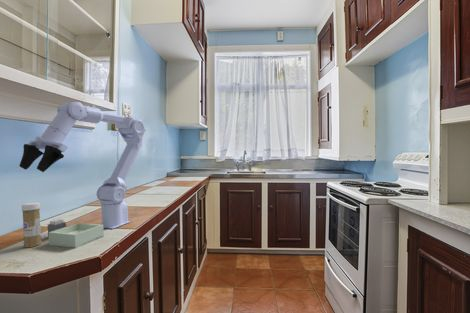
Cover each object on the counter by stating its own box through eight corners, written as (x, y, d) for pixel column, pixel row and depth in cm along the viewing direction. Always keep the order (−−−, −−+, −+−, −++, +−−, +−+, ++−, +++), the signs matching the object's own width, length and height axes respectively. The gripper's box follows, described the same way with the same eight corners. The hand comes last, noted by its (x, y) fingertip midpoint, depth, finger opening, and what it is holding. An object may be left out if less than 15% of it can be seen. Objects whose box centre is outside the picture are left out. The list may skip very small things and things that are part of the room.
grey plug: (59, 234, 96) (58, 218, 96) (66, 234, 95) (65, 219, 95) (48, 237, 92) (47, 221, 92) (55, 238, 91) (54, 222, 91)
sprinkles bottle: (19, 248, 83) (17, 204, 82) (31, 242, 87) (29, 201, 87) (34, 247, 82) (32, 204, 82) (45, 242, 87) (43, 201, 87)
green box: (79, 234, 95) (78, 222, 95) (103, 236, 92) (103, 224, 92) (49, 244, 85) (48, 232, 85) (75, 248, 81) (75, 234, 81)
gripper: (30, 124, 86) (2, 160, 80) (63, 126, 81) (36, 164, 75) (48, 136, 92) (23, 171, 85) (79, 139, 87) (56, 176, 81)
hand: (31, 169), depth 80 cm, fingers open, 7 cm apart
